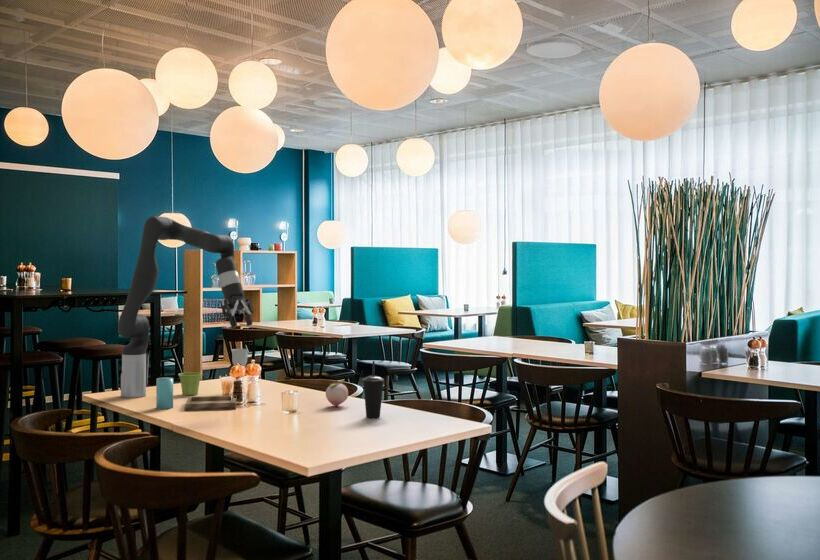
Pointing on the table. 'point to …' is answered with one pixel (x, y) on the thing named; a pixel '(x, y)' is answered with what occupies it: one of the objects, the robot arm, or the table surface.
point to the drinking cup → (373, 394)
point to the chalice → (239, 356)
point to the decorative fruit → (336, 393)
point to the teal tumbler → (164, 393)
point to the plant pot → (190, 382)
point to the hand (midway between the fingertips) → (242, 326)
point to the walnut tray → (210, 403)
